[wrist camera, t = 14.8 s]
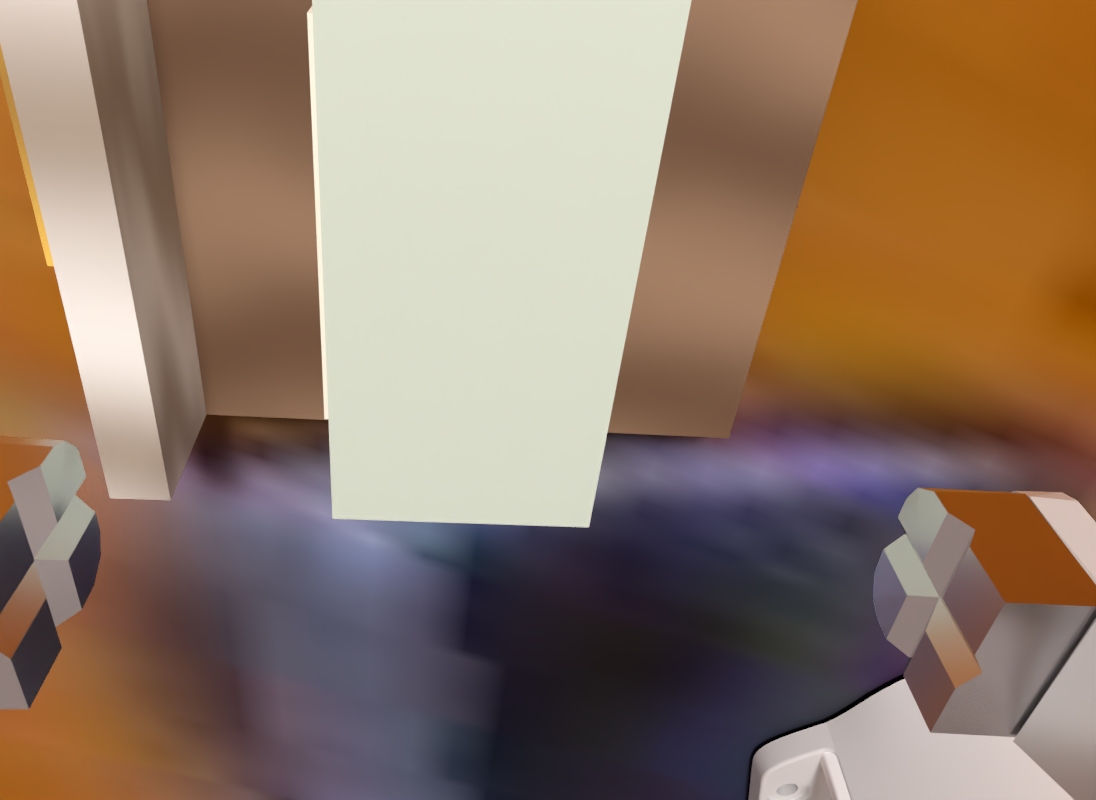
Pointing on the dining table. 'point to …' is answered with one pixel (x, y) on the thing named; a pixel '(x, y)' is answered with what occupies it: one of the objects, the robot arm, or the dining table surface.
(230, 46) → the shelf
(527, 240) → the carton
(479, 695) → the dining table surface
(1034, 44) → the dining table surface
